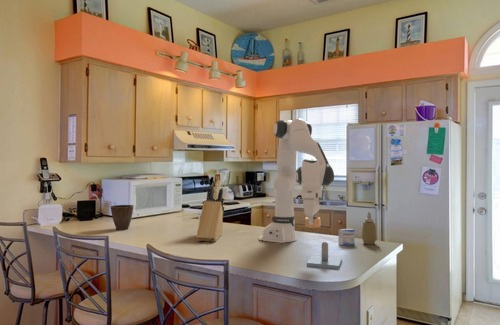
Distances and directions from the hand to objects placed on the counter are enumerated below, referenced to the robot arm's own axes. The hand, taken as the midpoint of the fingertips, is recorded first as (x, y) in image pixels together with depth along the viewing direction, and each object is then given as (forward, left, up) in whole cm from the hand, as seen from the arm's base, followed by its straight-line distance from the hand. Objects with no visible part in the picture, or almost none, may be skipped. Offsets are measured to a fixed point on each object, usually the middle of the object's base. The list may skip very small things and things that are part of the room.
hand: (312, 222), depth 174 cm
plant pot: (-137, +37, -18) cm, 143 cm away
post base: (+6, -2, -18) cm, 19 cm away
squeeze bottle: (+24, +48, -18) cm, 57 cm away
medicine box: (+12, +42, -18) cm, 48 cm away
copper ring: (0, 0, -2) cm, 2 cm away
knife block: (-69, +36, -18) cm, 80 cm away
